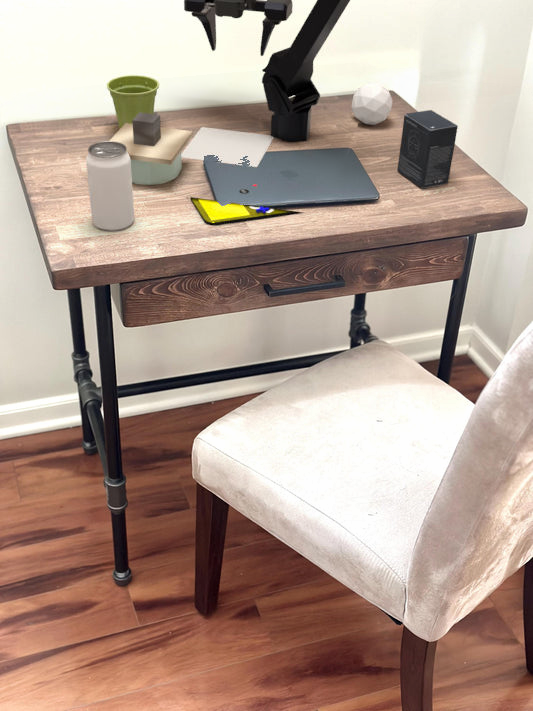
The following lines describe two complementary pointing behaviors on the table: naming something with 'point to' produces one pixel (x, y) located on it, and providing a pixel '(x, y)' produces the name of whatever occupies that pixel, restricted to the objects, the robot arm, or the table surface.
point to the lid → (152, 139)
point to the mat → (228, 146)
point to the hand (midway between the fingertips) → (237, 52)
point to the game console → (234, 211)
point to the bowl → (154, 171)
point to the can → (110, 185)
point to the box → (426, 148)
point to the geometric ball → (372, 103)
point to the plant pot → (132, 96)
